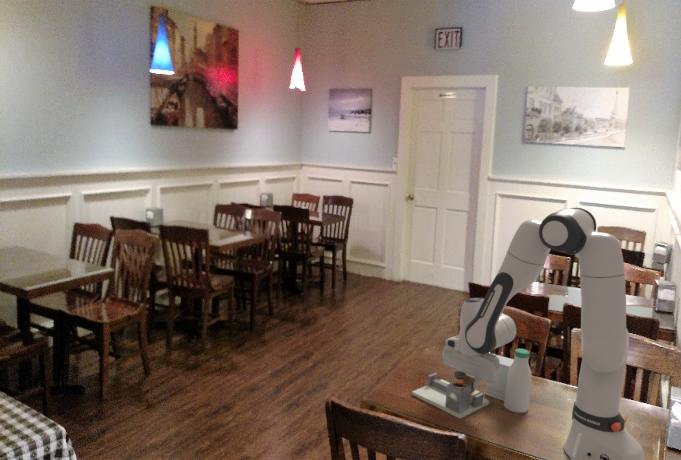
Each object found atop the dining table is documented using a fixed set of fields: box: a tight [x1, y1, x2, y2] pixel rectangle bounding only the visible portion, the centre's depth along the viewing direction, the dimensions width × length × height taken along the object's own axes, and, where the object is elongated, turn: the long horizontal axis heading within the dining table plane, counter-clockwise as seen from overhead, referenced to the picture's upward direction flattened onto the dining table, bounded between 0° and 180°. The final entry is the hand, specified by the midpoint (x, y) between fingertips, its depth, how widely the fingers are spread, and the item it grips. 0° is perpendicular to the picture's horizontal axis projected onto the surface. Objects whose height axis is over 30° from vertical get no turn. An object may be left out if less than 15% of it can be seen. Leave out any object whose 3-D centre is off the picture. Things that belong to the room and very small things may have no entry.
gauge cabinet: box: [445, 380, 471, 414], centre depth 179 cm, size 5×6×9 cm
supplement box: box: [485, 354, 515, 402], centre depth 192 cm, size 7×7×13 cm
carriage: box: [463, 373, 481, 405], centre depth 184 cm, size 6×5×8 cm
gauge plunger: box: [453, 370, 467, 389], centre depth 178 cm, size 4×4×8 cm
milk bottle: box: [503, 348, 533, 414], centre depth 182 cm, size 8×8×20 cm
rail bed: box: [411, 372, 490, 420], centre depth 187 cm, size 20×16×5 cm
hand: (468, 385), depth 184 cm, fingers closed on carriage, 3 cm apart
